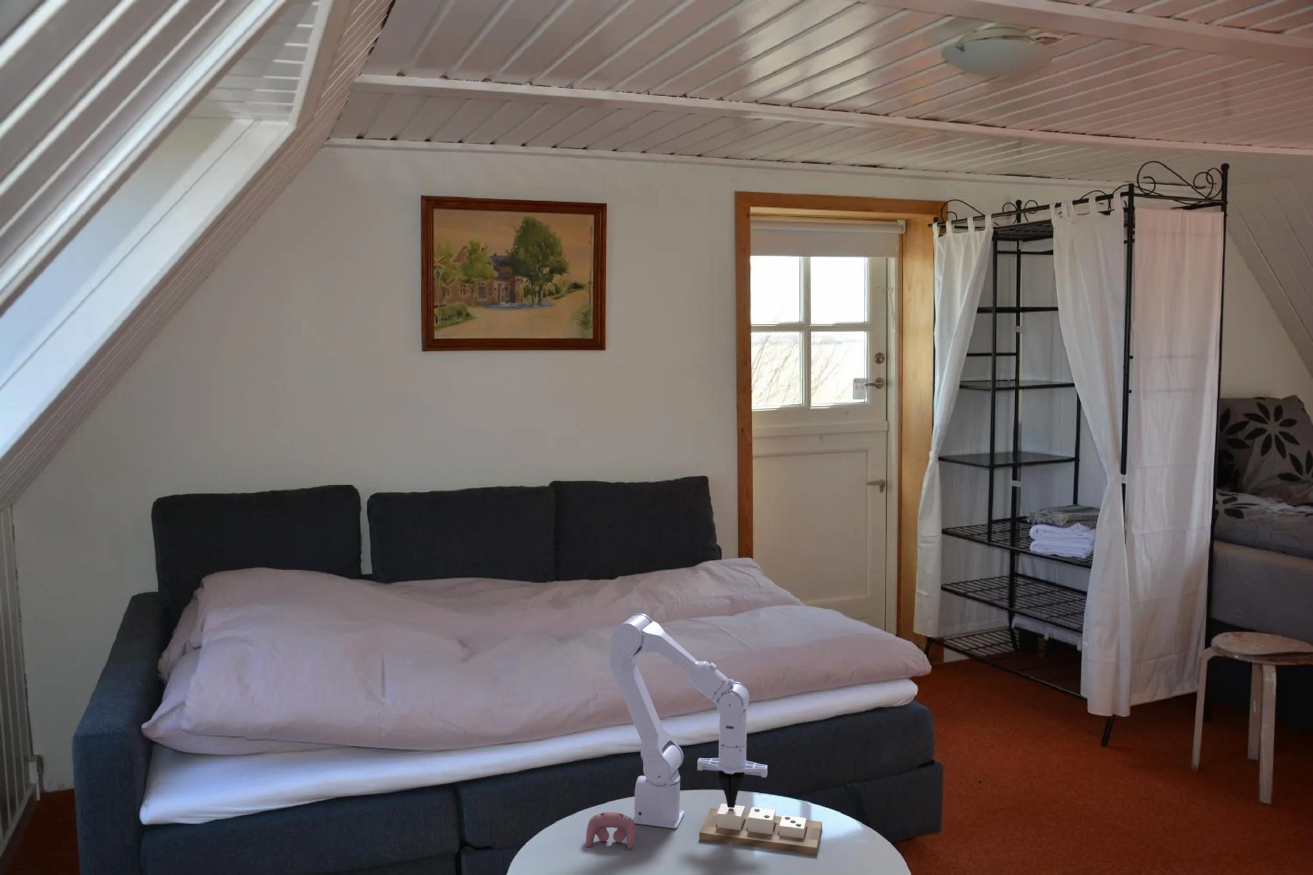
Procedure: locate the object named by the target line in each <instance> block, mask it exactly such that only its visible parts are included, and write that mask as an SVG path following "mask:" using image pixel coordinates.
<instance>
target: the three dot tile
mask: <svg viewBox="0 0 1313 875" xmlns="http://www.w3.org/2000/svg"><path fill="white" fill-rule="evenodd" d="M781 817H782V819H781V822H780V825H779V836H787V837H795V838H802V839H805V836H806V820H807V818H806V817H801V816H800V817H799V816H791V815H782V816H781Z"/></svg>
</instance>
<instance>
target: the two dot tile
mask: <svg viewBox="0 0 1313 875" xmlns="http://www.w3.org/2000/svg"><path fill="white" fill-rule="evenodd" d="M749 813H750V814H749V816H748V832H756V833H763V834H771V835H773V833H774V826H775V816H776V810H775V809H769V808H763V807H762V808H761V807H752V806H751V809H750V811H749Z"/></svg>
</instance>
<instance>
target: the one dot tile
mask: <svg viewBox="0 0 1313 875" xmlns="http://www.w3.org/2000/svg"><path fill="white" fill-rule="evenodd" d="M718 809H719V811H718V813H717V827H718V828H724V829H732V830H740V831H742V829H743V823H744V820H745V812H746V806H745V805H737V804H736V805H735V807H734V808H729V807H727V803H721V804H720V806H719V808H718Z"/></svg>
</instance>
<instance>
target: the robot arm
mask: <svg viewBox="0 0 1313 875" xmlns="http://www.w3.org/2000/svg"><path fill="white" fill-rule="evenodd" d="M609 641H610V653H609V655H610V656H609V668H611V672H612V674H613V676H614V679H615V681H616V684H617V686H618V688H619V691H620V693H621V695H622V698H623V700H624V702H625V705H626V707H627V710H628V713H629V715H630V717H631V720H632V722H633V725H634V727H635V729H636V731H637V734H638V736H639V739H640V741H641V744H640V746H641V747H640V757H641V759H642V763H643V764H642V765H643V768H642V770H643V772H642V773H643V775H639V776H637V779H636V782H635V787H634V808H633V809H634V814H633V815H634V819H633V821H634V823H635V825H636V824H637V825H644V826H651V827H652V826H653V827H661V828H666V829H667V828H668V829H677V828H678V826H679V825H680V823H681V821H682V819H683V817H684V815H685V811H684V810H681V808H680V806H681V805H680V802H681V801H680V796H681V775H680V772H679V768H680V767H681V766H682V764H683V761H684V753H683V749H682V748H681V747H680V745H679V744H677V743H676V742H675V740H674V739H673V737H672V734H670V732H667V731H666V730H665V729H664V727H663V725H662V722H661V720H660V718H659V714H658V713H657V710H656V707H655V705H654V703H653V701H652V699H651V695H650V693H649V691H648V689H647V686H646V684H645V681H644V679H643V677H642V674H641V672H640V670H639V667H638V665H637V661H638V658H639V656H640V654H641V653H643V654H644V653H658V654H659V655H661V656H662V657H663V658H665V659H666V660H667V661H669V662H670V663H672V664H673V665H675V667H678V668H679V669H680V670H681V671H683V672H684V673H685V674H687V676H688V682H689V684H690V685H691V686H693V687H695V689H697V690H698V691H699V692H700V693H701V694H703V695H704V696H705V697H706V698H708V699H709V700H710V701H712V702H713V703H715V706H716V710H717V712H718V713H719V721H718V722H719V724H718V726H719V728H718V730H719V731H718V757H712V758H706V757H705V758H703V757H699V758H698V759H697V770H696V771H703V770H704V771H716V772H718V775H717V780H718V782H719V784H720V785H721V788H722V790H723V793H724V795H725V796H724V797H725V799H726V804H727V807H729V808H734V807H735V805H737V804H736V803H737V797H738V793H739V790H740V787H741V785H742V783H743V780H745V779H744V778H745V776H746V775H752V776H758V777H759V776H760V777H761V778H767V776H768V764H761V763H757V762H754V761H749V760H747V732H748V731H747V728H748V726H747V724H748V722H747V709H746V707H747V706H748V705H749V703H750V699H751V698H750V697H751V696H750V692H749V690H748V688H747V687H746V686H745V685H744V683H742V682H739V681H735V680H734V679H733V678H728V677H727V676H726V675H725V674H723V673H722V672H721V671H720V670H718V669H717V667H718V666H717V665H716V664H715V663H714V662H711V663H709V661H707V660H703V661H700V660H697V658H694V656H692V655H691V653H689V652H688V651H687V650H686V649H685V648H683V647H682V646H681V645H680V644H679V643H678V642H677V641H675V639H674V638H672V637H671V636H670V635H669V634H668V633H666V632H665V630H664V629H663V628H662V626H661V625H660V624H659V623H658V622H656V621H654V620H652V619H651V618H650V617H649V616H648V615H646V614H645V613H634V614H633V615H632V616H630V617H629V618H628V619H626V620H625V621H624V622H622V623H620V624H619V625H617V627H615V630H614V631H613V633H612V634H611V636H610V639H609Z"/></svg>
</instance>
